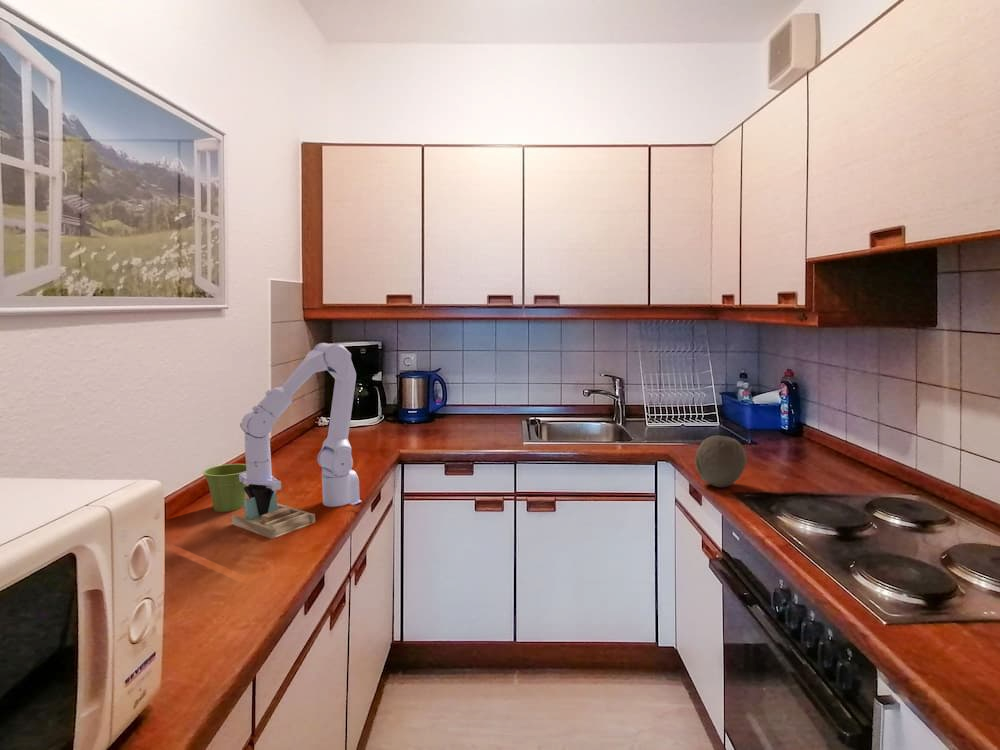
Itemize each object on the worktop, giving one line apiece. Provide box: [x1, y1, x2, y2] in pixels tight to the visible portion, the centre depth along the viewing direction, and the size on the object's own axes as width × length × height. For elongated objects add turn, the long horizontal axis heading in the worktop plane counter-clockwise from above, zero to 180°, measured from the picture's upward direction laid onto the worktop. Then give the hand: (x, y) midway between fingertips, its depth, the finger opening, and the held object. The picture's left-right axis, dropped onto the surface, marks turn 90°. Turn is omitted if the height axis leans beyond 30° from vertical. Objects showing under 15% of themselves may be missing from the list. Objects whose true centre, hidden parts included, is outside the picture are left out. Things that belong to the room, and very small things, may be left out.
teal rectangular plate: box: [244, 491, 278, 520], centre depth 142 cm, size 8×1×6 cm, turn 146°
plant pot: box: [202, 463, 249, 513], centre depth 151 cm, size 12×12×11 cm
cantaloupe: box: [694, 435, 747, 488], centre depth 170 cm, size 14×14×15 cm
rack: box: [231, 502, 316, 539], centre depth 140 cm, size 12×16×3 cm
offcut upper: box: [262, 508, 291, 522], centre depth 139 cm, size 6×2×1 cm, turn 150°
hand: (261, 513), depth 142 cm, fingers closed on teal rectangular plate, 1 cm apart
